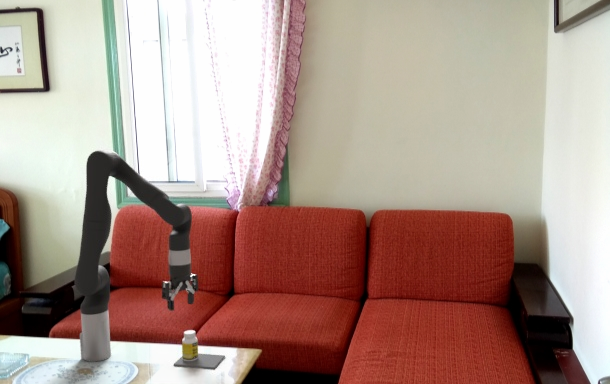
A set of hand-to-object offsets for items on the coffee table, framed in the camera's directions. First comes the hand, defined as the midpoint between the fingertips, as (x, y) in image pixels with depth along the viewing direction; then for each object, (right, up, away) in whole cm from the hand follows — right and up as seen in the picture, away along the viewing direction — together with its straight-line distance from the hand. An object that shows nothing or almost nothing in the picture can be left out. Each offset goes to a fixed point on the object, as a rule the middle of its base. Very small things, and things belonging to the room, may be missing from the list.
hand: (181, 307), depth 188 cm
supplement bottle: (+3, -19, +2) cm, 19 cm away
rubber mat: (+6, -19, +1) cm, 20 cm away
